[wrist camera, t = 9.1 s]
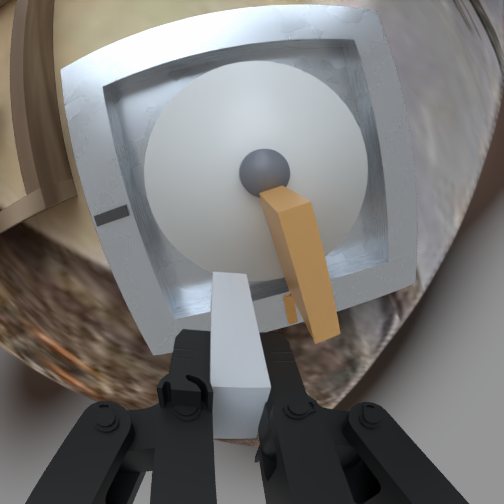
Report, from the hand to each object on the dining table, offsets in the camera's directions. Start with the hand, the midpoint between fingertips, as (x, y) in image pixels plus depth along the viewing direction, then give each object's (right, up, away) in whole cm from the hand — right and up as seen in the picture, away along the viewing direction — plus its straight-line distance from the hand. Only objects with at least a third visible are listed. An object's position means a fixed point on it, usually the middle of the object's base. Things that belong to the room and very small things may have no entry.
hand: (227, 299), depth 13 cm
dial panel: (+1, +7, +4) cm, 8 cm away
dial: (+2, +6, +2) cm, 7 cm away
